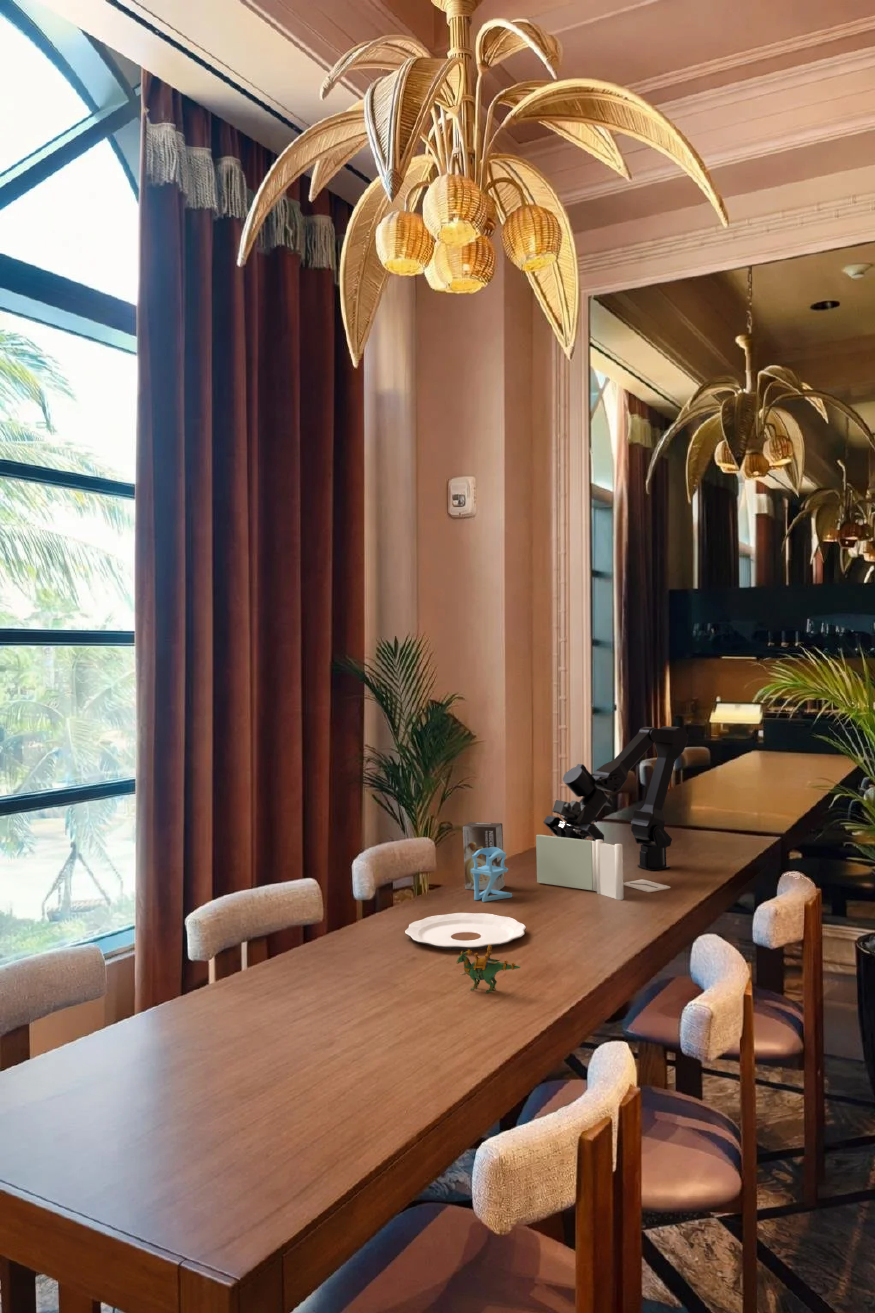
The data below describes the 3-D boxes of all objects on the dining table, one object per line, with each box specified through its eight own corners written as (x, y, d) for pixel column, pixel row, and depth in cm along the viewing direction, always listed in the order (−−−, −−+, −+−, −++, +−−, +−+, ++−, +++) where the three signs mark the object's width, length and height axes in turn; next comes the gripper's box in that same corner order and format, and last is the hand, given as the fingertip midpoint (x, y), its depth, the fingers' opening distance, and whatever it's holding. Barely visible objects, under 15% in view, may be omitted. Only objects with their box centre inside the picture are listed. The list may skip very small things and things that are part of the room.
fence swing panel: (598, 890, 243) (597, 841, 243) (596, 891, 242) (595, 842, 242) (539, 881, 254) (538, 834, 254) (537, 882, 253) (536, 835, 253)
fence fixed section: (625, 899, 235) (623, 844, 235) (619, 900, 234) (618, 845, 234) (601, 892, 243) (599, 839, 242) (595, 893, 242) (594, 840, 242)
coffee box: (505, 885, 252) (504, 822, 252) (498, 891, 246) (497, 827, 246) (471, 883, 255) (470, 821, 255) (463, 889, 249) (462, 825, 249)
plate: (390, 929, 215) (390, 920, 215) (496, 916, 223) (495, 908, 223) (430, 962, 191) (430, 952, 191) (546, 946, 200) (546, 936, 200)
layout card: (670, 888, 245) (670, 886, 245) (649, 892, 241) (649, 890, 241) (642, 880, 253) (642, 878, 253) (621, 884, 250) (621, 882, 250)
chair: (466, 899, 239) (465, 849, 239) (488, 892, 245) (487, 844, 245) (491, 903, 234) (490, 853, 234) (513, 897, 240) (511, 847, 240)
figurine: (460, 984, 177) (459, 939, 177) (524, 992, 172) (523, 945, 172) (453, 990, 174) (452, 943, 174) (518, 997, 170) (517, 950, 170)
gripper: (548, 785, 262) (515, 831, 256) (594, 792, 246) (560, 841, 240) (572, 811, 266) (540, 857, 260) (619, 820, 250) (586, 869, 244)
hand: (555, 856), depth 251 cm, fingers closed
